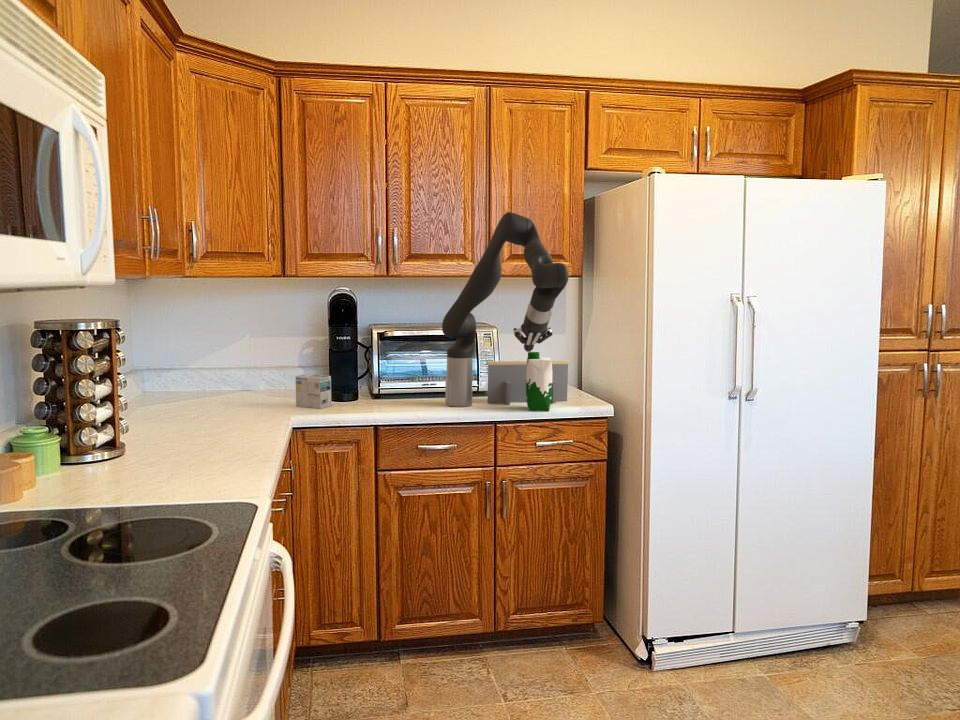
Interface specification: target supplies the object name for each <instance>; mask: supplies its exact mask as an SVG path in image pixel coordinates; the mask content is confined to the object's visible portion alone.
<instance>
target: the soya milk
mask: <svg viewBox="0 0 960 720" xmlns="http://www.w3.org/2000/svg"><path fill="white" fill-rule="evenodd" d="M526 361H527V372H526V399H527V402H526V403H527V404H526V405H527V410H528V412H550V408H551V404H552V403H551V398H552V361H553V360H552V359H551V357H544V356H540V352H538V351H531V352H527V358H526Z"/></svg>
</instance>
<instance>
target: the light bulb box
mask: <svg viewBox="0 0 960 720" xmlns="http://www.w3.org/2000/svg"><path fill="white" fill-rule="evenodd" d="M295 405H296V407H303V408H311V409H321V410H322V409H324V408H328V407H330V406H332V376H331V375H322V374H321V375H320V374H310V373H305V374H300V375H295Z"/></svg>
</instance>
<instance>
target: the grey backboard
mask: <svg viewBox="0 0 960 720" xmlns="http://www.w3.org/2000/svg"><path fill="white" fill-rule="evenodd" d="M551 361H552V398H551V403H550V404H552V403H556V402H567V401H568V385H569V384H568V382H569V381H568V378H569V365H570V360H568V359H565V360H559V359H557V360H551ZM485 364H486V365H487V369H488V370H487V403H488V404H503V403H504V404H505V405H506V406H510V405H511V403H527V399H526V372H527V360H498V361H497V360H490V361H489V360H488V361H487V360H486V361H485ZM556 404H557V403H556Z"/></svg>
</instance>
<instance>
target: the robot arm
mask: <svg viewBox="0 0 960 720" xmlns="http://www.w3.org/2000/svg"><path fill="white" fill-rule="evenodd" d="M489 240H490V241H489V243H488V245H487V247H486V248H485V251H484V253H483V254H482V256H481V258H480V260H479V261H478V263H477V265H476V266H475V268H474V269H473V271H472V273H471V275H470V276H469V279H468V280H467V282H466V284H465V285H464V288H462V290H461V292H460V294H459V296H458V297H457V299H456V300H455V301H454V302H453V304H452V305H451V307H450V309H448V311H447V312H446V314H445V316H444V317H443V319H442V323H441V330H442V334H444V336H445V337H446V338H450V339H455V340H456V341H455V343H453V345H451V346H450V347H448V348H447V350H446V377H445V392H444V393H445V394H444V395H445V396H444V397H445V399H444V400H445V401H444V402H445V404H446V406H449V407H470V406H472V405H473V369H474V368H473V367H474V366H473V365H474V361H473V360H474V358H473V357H474V356H473V355H474V351H475V347H476V340H477V339H476V335H477V321H476V318H475V316H474V314H473V313H472V311H473V310H474V309H475V308H476V307H478V306H479V305H480V304H481V303H483V302H484V301H485V300H486V299H487V298H489V297H490V296H491V295H492V293H494V290H495V289H496V287H497V286H498V284H499V282H500V280H501V278H502V263H501V252H502V249H503V247H504V245H505V244H506V243H510V244H513V245H515V246H521V247H523V258H524V261H525V262H526V264H527V265H528V267H529V268H530V271H531V281H532V283H533V285H534V286H535V287H534V289H533V291H532V294H531V297H530V301H529V302H528V304H527V309H526V312H525V314H524V315H525V316H524V318H523V323H522V324H521V325H520V327H519V328H517V327H514V328H513V329H512V330H513V334H514V337H515V338H516V339H517V340H518V341H519V342H520V343H521V344H522V345H523V349H524V351H525V352H526V353H528V352H532V351H533V350H534V347H535V345H536V344H541V343H543V342H545V341H546V340H547V339H549V338H550V337H553V334H554V333H553V331H552V328H551V327H549V326H548V325H549V323H550V320H551V317H552V314H553V307H554V304H555V302H556V299H557V298H558V297H559V296H560V294H561V293H562V292H563V290H564V289H565V287H566V286H567V284H568V282H569V278H570V272H569V268H568V267H567V265H565V264H564V263H562V262H554V260H553V258H552V255H551V254H550V253H549V251H548V250H547V248H545V246H544V245H543V243H542V240H541V239H540V235H539V233H538V229H537V227H536V225H535V223H534V222H533V220H532V219H530V218H529V217H526V216H523V215H520V214H517V213H515V212H511V211H509V212H506V213H504V214H503V215H502V216H501V218H500V219H499V221H498V223H497V226H496V228H495V229H494V232H493V233H492V236H491V238H490V239H489ZM523 334H524V335H523Z"/></svg>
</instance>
